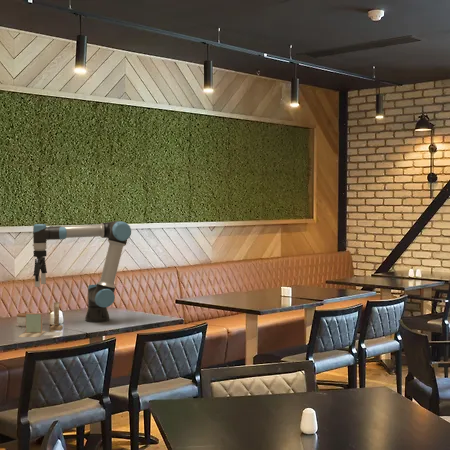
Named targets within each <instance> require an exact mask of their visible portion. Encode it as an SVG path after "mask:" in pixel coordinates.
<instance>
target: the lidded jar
mask: <svg viewBox="0 0 450 450" xmlns="http://www.w3.org/2000/svg"><path fill="white" fill-rule="evenodd" d="M26 313H28V312H27V311H24V312H20V313H16V322H17V324H18V326H20V327H22V328H26Z"/></svg>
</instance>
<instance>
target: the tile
mask: <svg viewBox="0 0 450 450" xmlns="http://www.w3.org/2000/svg"><path fill="white" fill-rule="evenodd" d="M25 331H26V333H42V331H43V312H41V313H39V312H37V313H36V312H27V313H26V327H25Z"/></svg>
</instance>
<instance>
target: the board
mask: <svg viewBox="0 0 450 450" xmlns="http://www.w3.org/2000/svg"><path fill="white" fill-rule="evenodd" d="M46 332H47V331H46V330H42V333H26V330H25V331H24V332H22V333H21V334H20V335H18V336H17V338H40V337H41V336H43V335H44V334H45V333H46Z"/></svg>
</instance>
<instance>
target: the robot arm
mask: <svg viewBox="0 0 450 450" xmlns="http://www.w3.org/2000/svg"><path fill="white" fill-rule="evenodd" d="M32 227H33V229H32V231H33V232H32V235H33V239H32V240H33V244H32V247H33V257H34V258H35V259H34V269H33V277H34V287H35V288H40V287H41V285H46V284H47V283H46V281H47V280H46V279H47V277H46V274H47V273H48V271H47V264H46V257H47V240H48V241H49V240H50V241H51V240H52V241H53V240H55V241H57V240H58V241H59V240H60V241H61V240H66V239H69V238H73V239H74V238H92V237H94V238H95V237H100V238H102V239H107V241H108V243H109V244H108V247H107V248H108V249H107V251H106V257H105V259H104V265H103V268H102V272H101V276H100V279H99V281H98V282H97V283H96V284H89V285H87V286H88V287H87V311H86V314H85V319H84V320H85V321H86V322H89V323H103V322H104V323H105V322H108V321H110V314H109V311H108V308H109V307H110V306H112V304H114V302H115V300H116V299H115V298H116V297H115V296H116V294H115V290H116V287H115V285H114V284H115V280H116V276H117V272H118V269H119V264H120V261H121V256H122V252H123V248H124V247H125V246H127V243H128V240H129V239H130V237H131V235H132V228H131V226H130V225H129V224H128V223H127V222H125V221H122V220H119V221H118V220H114V221H107V222H100V224H80V225H78V224H77V225H56V226H55V225H53V226H52V225H49V226H47V224H45V223H35V224H33V226H32ZM40 272H41V273H40Z"/></svg>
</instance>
